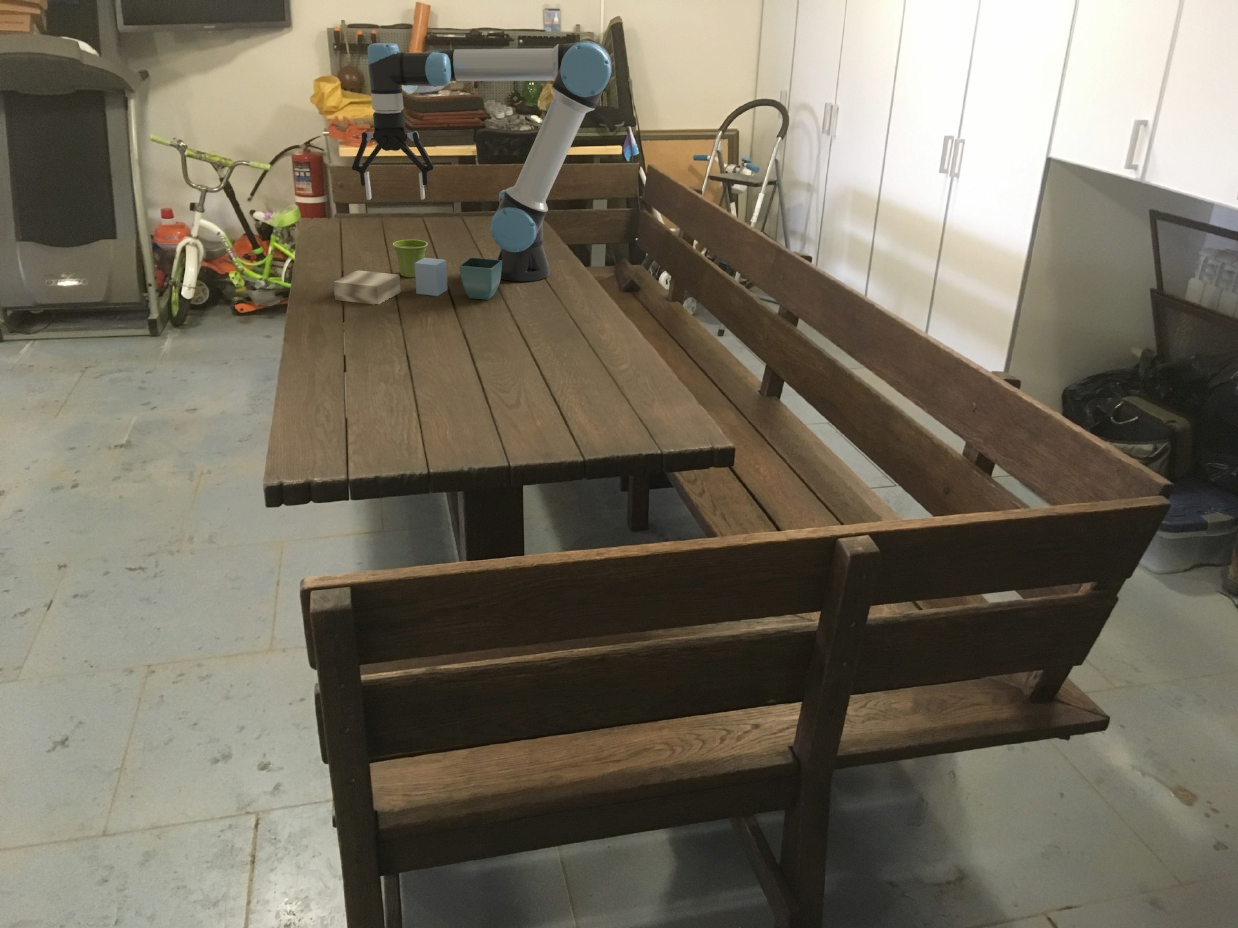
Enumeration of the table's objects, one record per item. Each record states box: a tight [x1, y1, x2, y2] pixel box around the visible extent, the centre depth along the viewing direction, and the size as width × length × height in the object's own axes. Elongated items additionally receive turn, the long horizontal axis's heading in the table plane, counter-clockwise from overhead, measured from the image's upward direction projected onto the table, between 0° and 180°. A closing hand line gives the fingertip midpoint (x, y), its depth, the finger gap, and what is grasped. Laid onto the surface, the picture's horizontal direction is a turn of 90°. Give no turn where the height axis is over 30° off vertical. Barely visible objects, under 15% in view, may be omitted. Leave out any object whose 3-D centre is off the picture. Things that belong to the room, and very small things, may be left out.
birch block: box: [333, 270, 401, 305], centre depth 252 cm, size 12×12×5 cm
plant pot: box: [392, 239, 429, 279], centre depth 270 cm, size 9×9×9 cm
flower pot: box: [458, 257, 502, 301], centre depth 252 cm, size 9×9×9 cm
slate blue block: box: [414, 257, 449, 297], centre depth 256 cm, size 6×6×8 cm
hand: (396, 198), depth 253 cm, fingers open, 13 cm apart
